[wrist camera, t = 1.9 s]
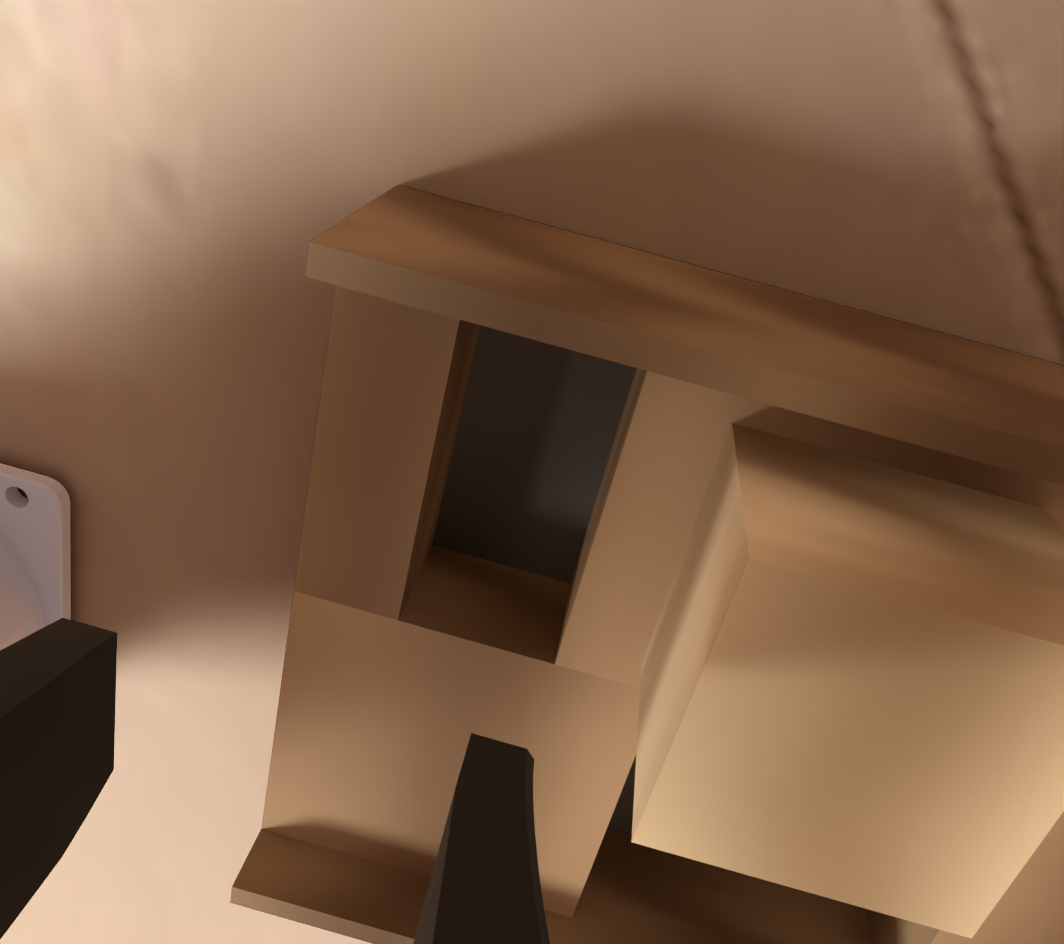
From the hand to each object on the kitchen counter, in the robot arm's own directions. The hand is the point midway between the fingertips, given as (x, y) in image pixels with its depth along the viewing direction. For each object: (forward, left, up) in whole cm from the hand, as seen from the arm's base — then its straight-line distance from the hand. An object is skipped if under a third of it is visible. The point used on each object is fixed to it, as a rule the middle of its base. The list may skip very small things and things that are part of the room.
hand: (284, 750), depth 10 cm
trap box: (+8, -3, -9) cm, 13 cm away
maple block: (+7, 0, -6) cm, 9 cm away
